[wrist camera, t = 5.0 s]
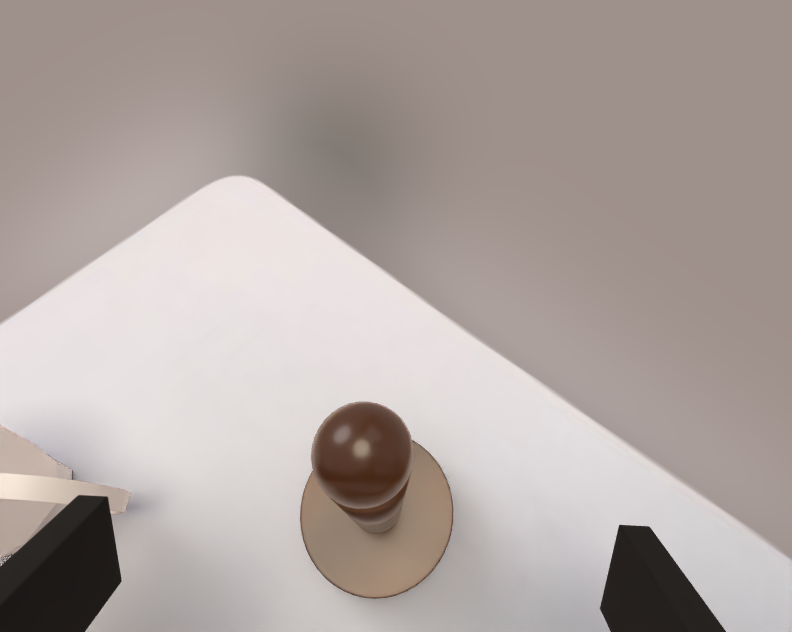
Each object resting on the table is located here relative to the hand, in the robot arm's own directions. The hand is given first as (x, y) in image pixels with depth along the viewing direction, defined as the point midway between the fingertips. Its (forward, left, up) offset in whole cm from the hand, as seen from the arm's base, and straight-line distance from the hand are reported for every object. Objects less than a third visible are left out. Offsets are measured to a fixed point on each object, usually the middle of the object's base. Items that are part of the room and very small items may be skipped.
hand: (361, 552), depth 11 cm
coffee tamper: (+1, -1, -9) cm, 9 cm away
